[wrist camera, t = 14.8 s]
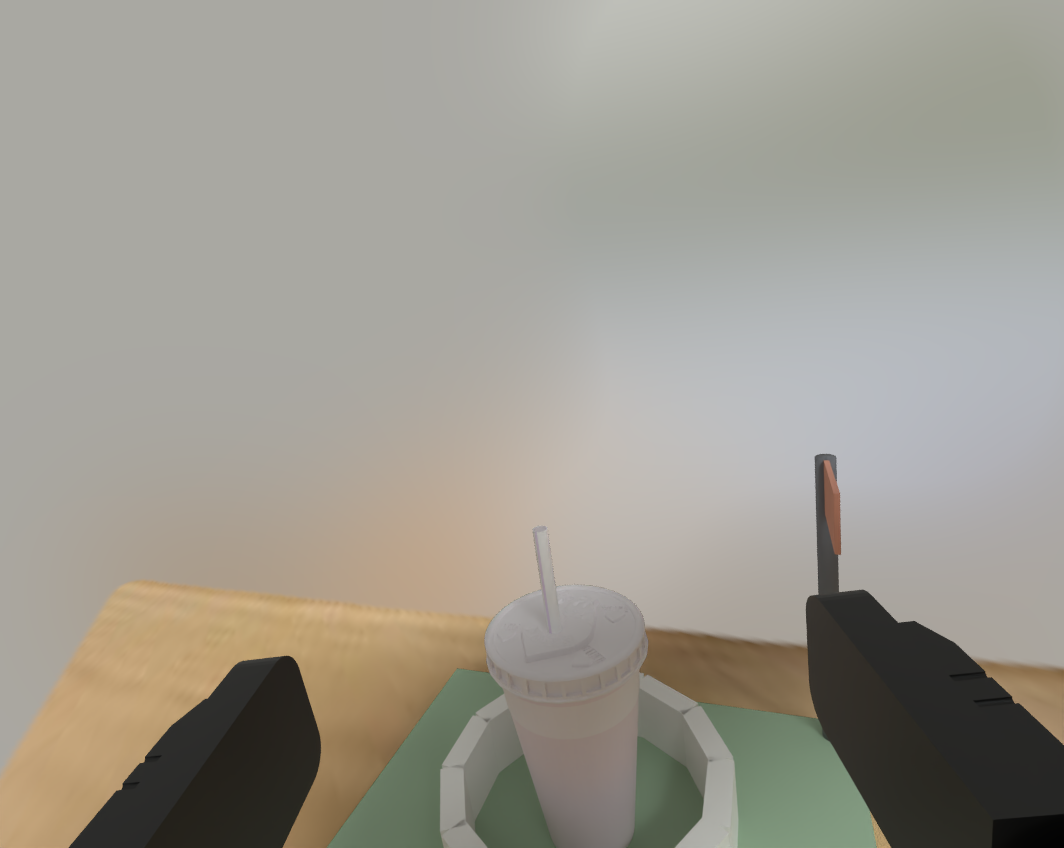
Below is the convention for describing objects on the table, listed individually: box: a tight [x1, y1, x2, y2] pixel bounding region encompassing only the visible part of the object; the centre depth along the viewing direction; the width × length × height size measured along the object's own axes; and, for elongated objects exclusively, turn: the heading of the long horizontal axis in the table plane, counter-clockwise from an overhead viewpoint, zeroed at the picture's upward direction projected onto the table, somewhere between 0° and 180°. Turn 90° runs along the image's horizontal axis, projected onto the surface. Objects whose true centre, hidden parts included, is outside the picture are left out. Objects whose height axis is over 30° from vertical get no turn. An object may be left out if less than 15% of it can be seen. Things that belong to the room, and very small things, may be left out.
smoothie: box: [485, 526, 648, 848], centre depth 23 cm, size 6×6×14 cm
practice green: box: [327, 454, 877, 848], centre depth 23 cm, size 22×16×15 cm
